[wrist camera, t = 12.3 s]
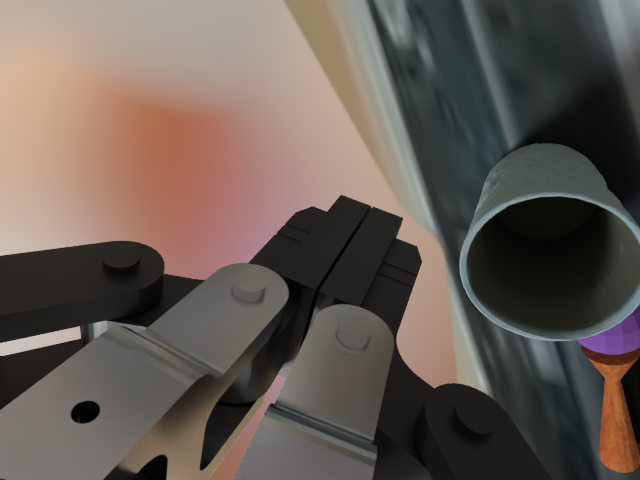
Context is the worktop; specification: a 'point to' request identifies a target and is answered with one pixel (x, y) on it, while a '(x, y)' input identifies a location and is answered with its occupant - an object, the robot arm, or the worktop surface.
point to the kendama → (616, 390)
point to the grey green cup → (551, 247)
